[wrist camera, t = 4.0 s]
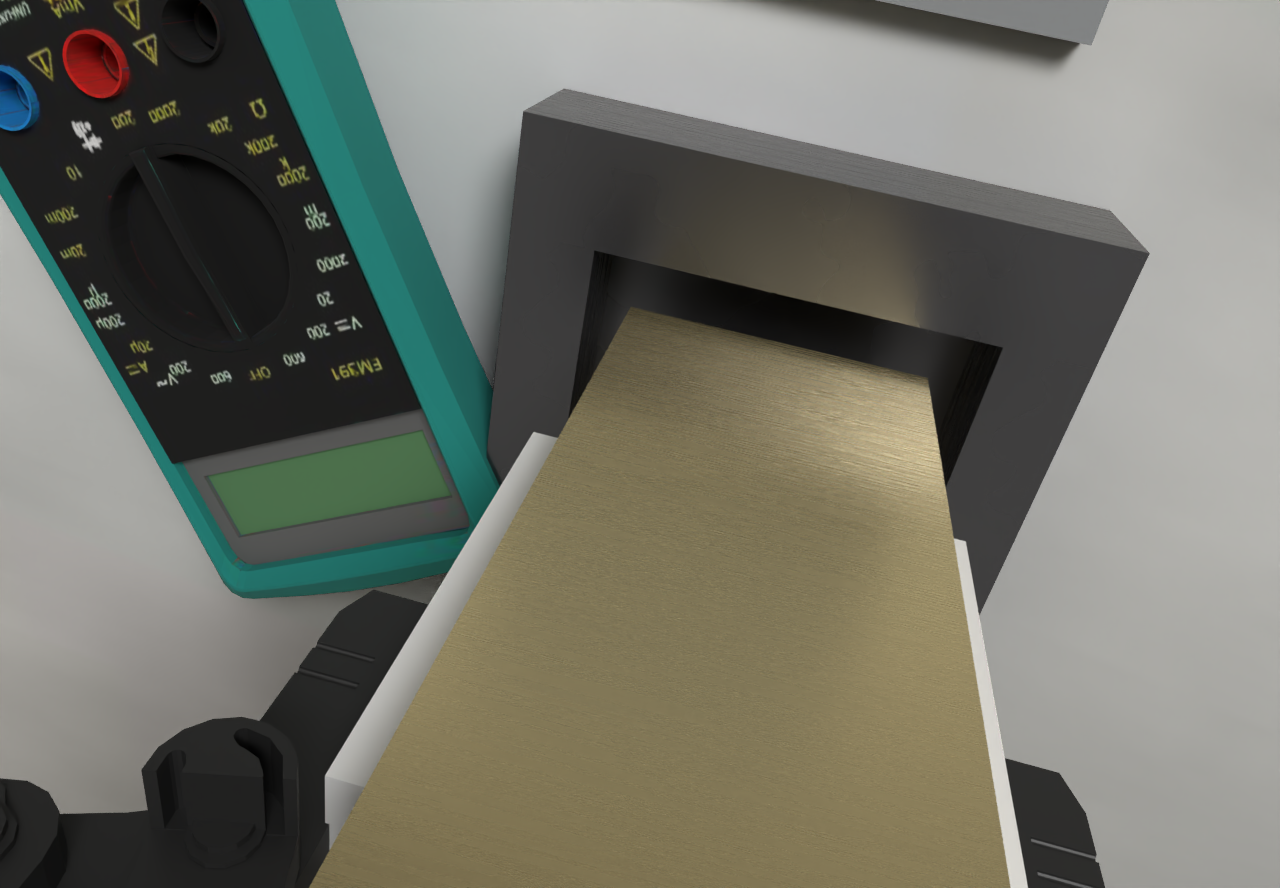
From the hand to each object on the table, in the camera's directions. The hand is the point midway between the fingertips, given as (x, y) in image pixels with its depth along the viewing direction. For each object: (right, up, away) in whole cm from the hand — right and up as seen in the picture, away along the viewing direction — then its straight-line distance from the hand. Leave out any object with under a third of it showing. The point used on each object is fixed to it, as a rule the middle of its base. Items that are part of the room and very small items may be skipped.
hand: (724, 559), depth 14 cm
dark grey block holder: (0, -1, +7) cm, 7 cm away
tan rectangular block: (0, +1, +2) cm, 3 cm away
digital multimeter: (-9, +6, +5) cm, 12 cm away
